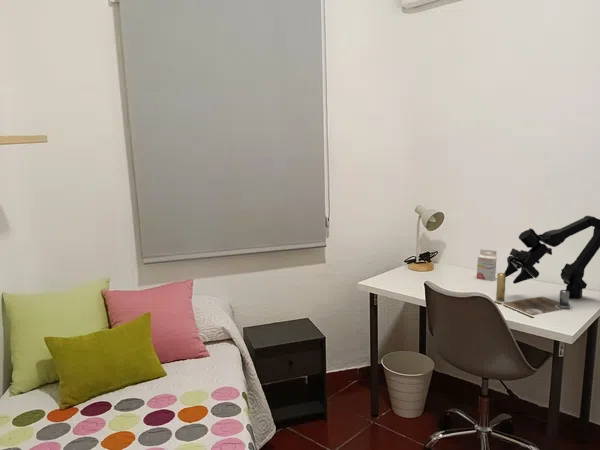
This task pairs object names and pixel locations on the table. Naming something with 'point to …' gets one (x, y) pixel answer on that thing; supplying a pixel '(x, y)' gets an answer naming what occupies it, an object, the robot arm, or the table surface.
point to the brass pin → (500, 287)
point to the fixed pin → (564, 300)
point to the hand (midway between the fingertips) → (508, 279)
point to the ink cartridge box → (486, 265)
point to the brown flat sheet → (531, 310)
